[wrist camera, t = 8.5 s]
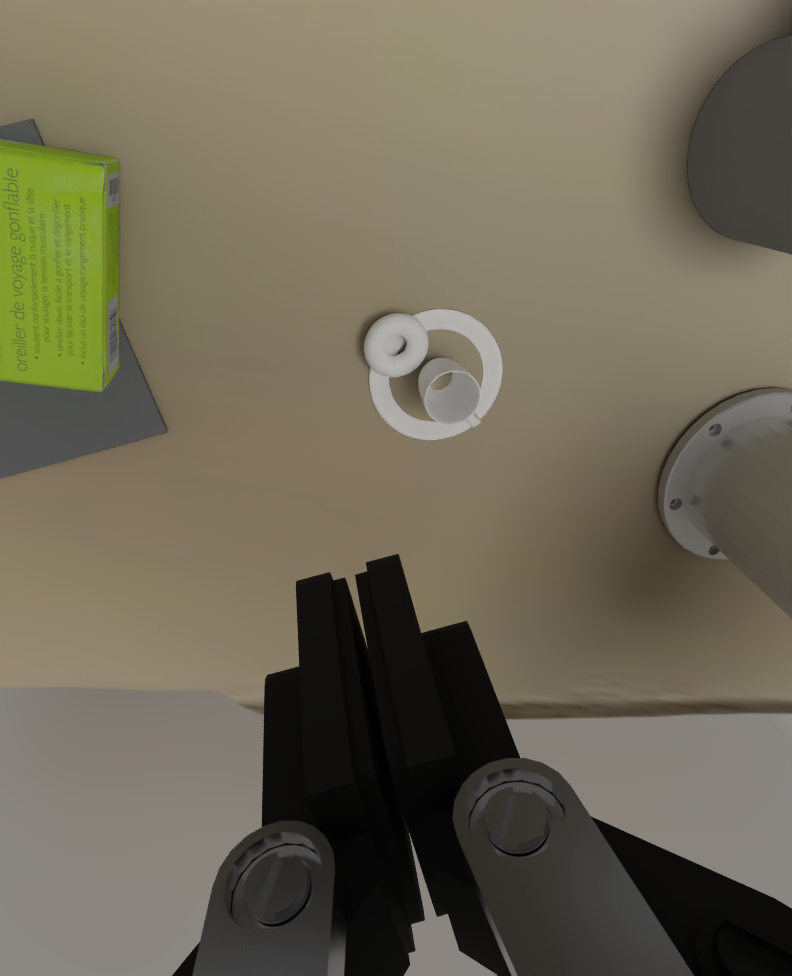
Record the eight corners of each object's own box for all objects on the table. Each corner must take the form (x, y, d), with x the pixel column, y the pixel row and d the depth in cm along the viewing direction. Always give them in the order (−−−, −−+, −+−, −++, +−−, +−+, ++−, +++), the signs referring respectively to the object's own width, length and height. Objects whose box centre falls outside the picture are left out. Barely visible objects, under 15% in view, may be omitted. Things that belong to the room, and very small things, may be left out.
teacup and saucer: (341, 326, 39) (349, 347, 35) (474, 271, 38) (495, 286, 35) (395, 456, 43) (407, 486, 39) (514, 407, 43) (537, 433, 39)
